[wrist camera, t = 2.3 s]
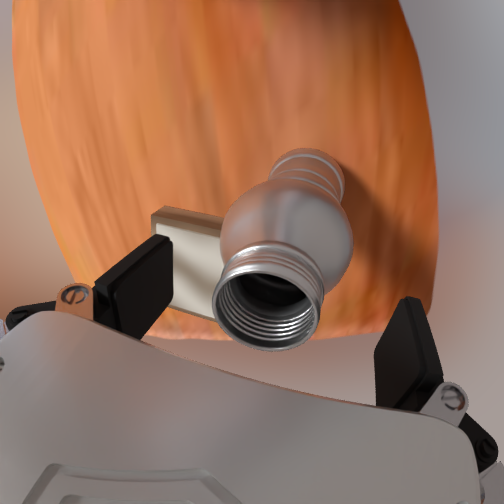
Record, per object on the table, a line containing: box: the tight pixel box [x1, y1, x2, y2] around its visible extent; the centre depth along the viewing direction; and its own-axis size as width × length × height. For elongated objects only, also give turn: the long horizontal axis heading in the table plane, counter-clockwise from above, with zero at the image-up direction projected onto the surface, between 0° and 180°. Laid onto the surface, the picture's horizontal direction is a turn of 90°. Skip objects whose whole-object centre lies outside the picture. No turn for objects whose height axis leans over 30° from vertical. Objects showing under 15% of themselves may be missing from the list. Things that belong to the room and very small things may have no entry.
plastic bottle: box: [212, 148, 354, 351], centre depth 18 cm, size 6×7×20 cm
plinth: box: [151, 206, 224, 322], centre depth 33 cm, size 12×12×3 cm
